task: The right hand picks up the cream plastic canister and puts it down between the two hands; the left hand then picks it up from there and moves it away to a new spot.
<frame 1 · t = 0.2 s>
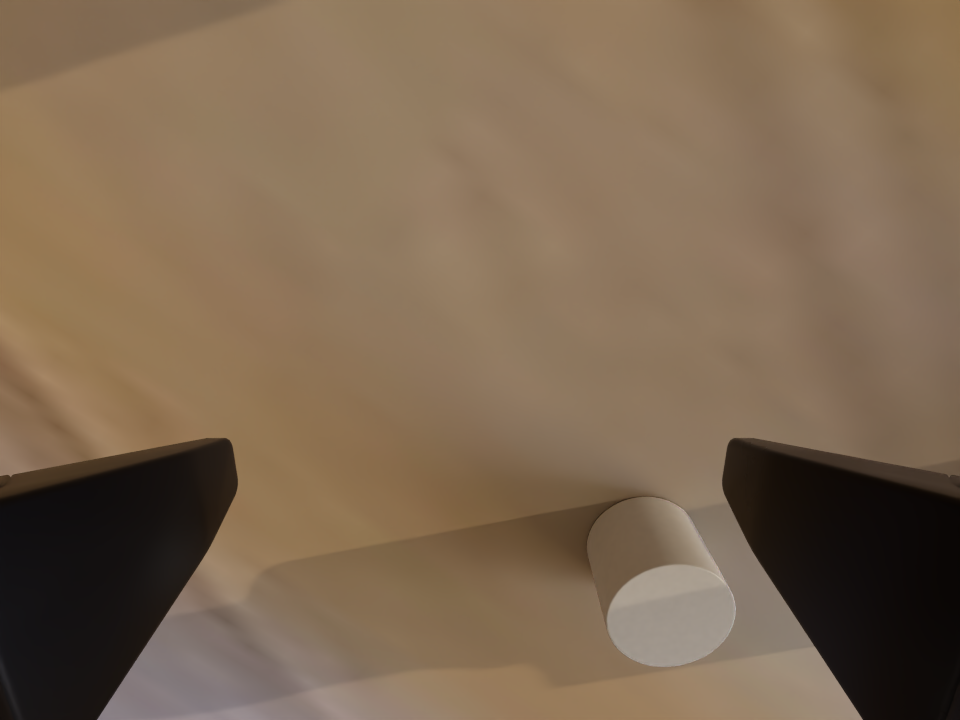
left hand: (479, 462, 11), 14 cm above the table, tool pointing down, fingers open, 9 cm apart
canister: (641, 543, 28), on the table
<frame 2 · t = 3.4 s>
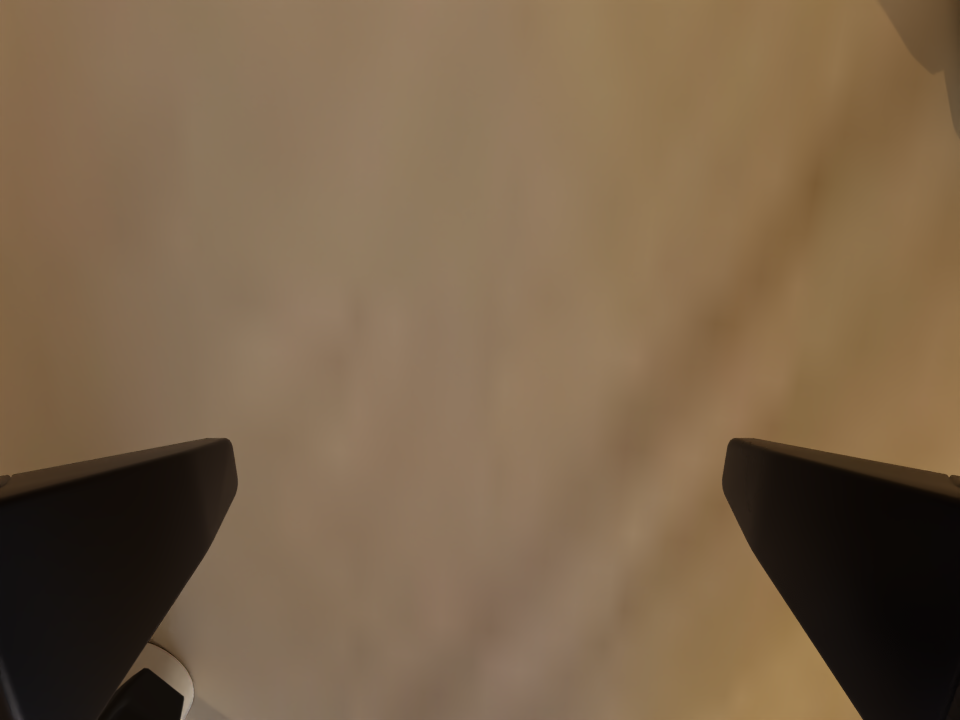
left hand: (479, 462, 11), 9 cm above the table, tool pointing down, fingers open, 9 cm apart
canister: (132, 684, 25), on the table, touching right hand
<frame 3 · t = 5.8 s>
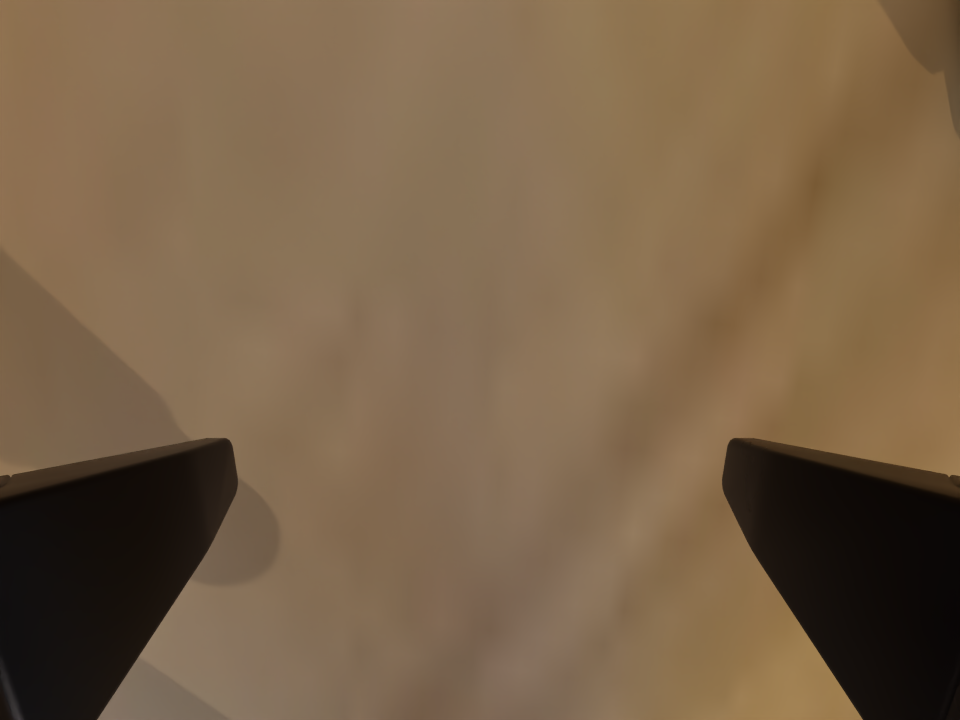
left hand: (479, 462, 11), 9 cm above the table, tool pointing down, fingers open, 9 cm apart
when the right hand's fingers open (3 cm above the table, at t = 8.6 s): canister stays where it is, on the table.
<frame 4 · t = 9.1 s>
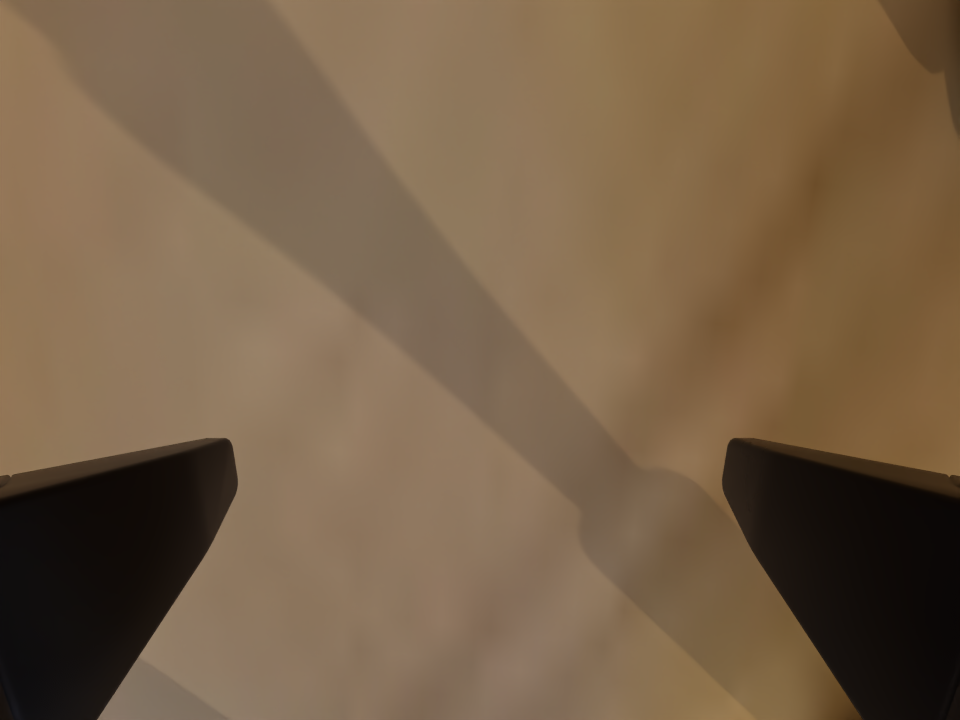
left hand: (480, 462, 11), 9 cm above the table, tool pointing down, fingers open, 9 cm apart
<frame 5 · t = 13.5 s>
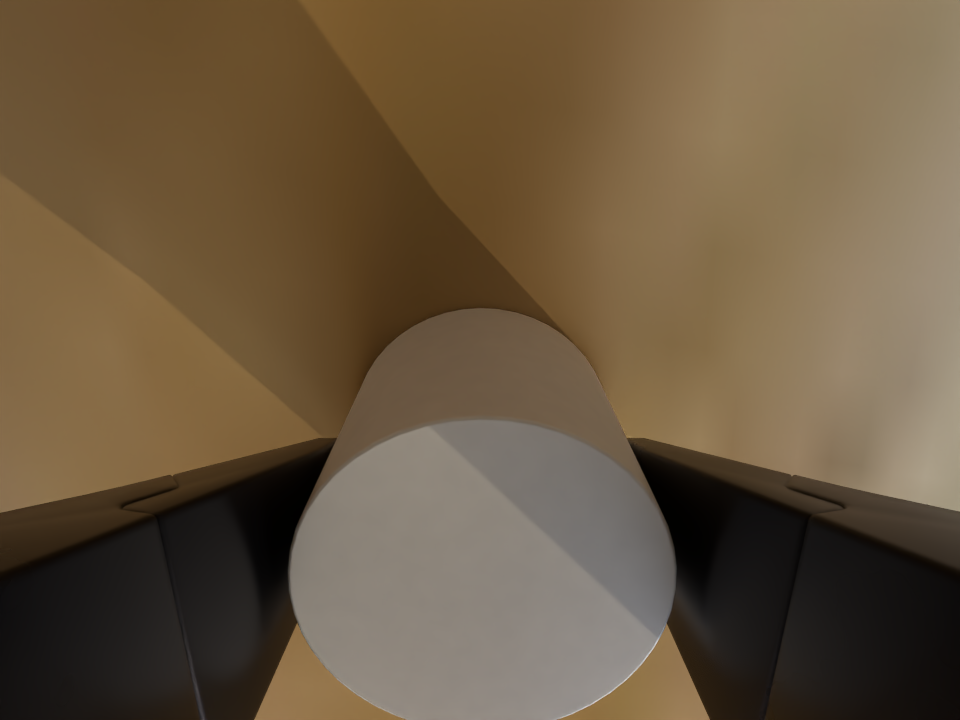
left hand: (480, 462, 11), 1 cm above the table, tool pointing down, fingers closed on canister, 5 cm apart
canister: (481, 428, 12), on the table, touching left hand
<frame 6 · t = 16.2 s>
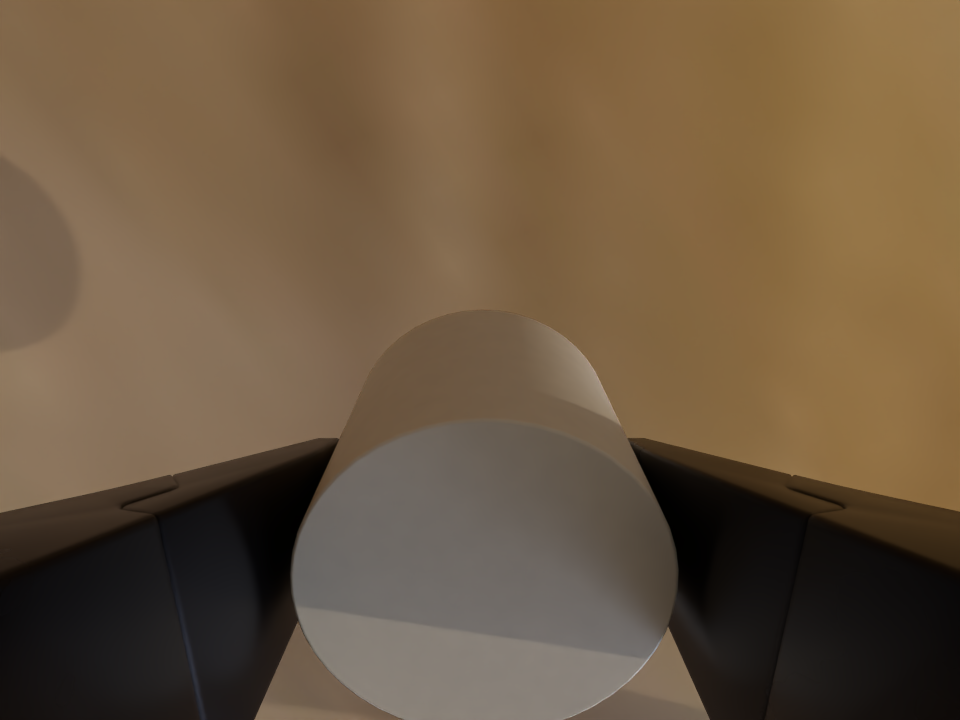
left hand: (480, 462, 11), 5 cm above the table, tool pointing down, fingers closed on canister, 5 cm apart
canister: (482, 430, 12), point 3 cm above the table, touching left hand
when the left hand's fingers open (2 cm above the table, at t = 18.7 s): canister stays where it is, on the table.
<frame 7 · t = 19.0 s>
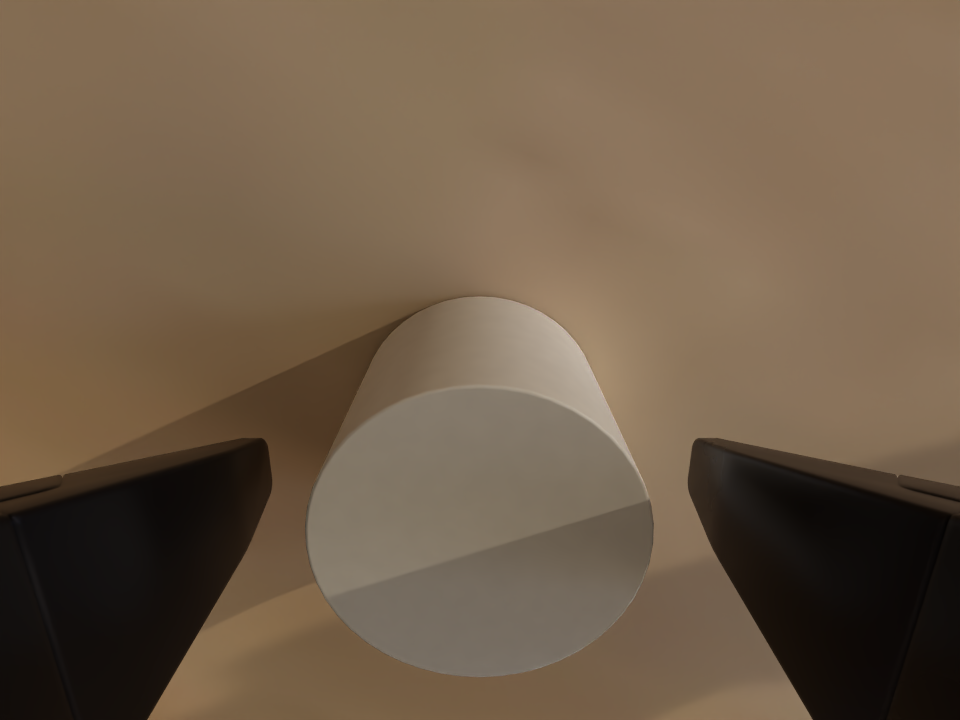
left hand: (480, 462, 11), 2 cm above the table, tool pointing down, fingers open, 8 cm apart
canister: (479, 409, 13), on the table
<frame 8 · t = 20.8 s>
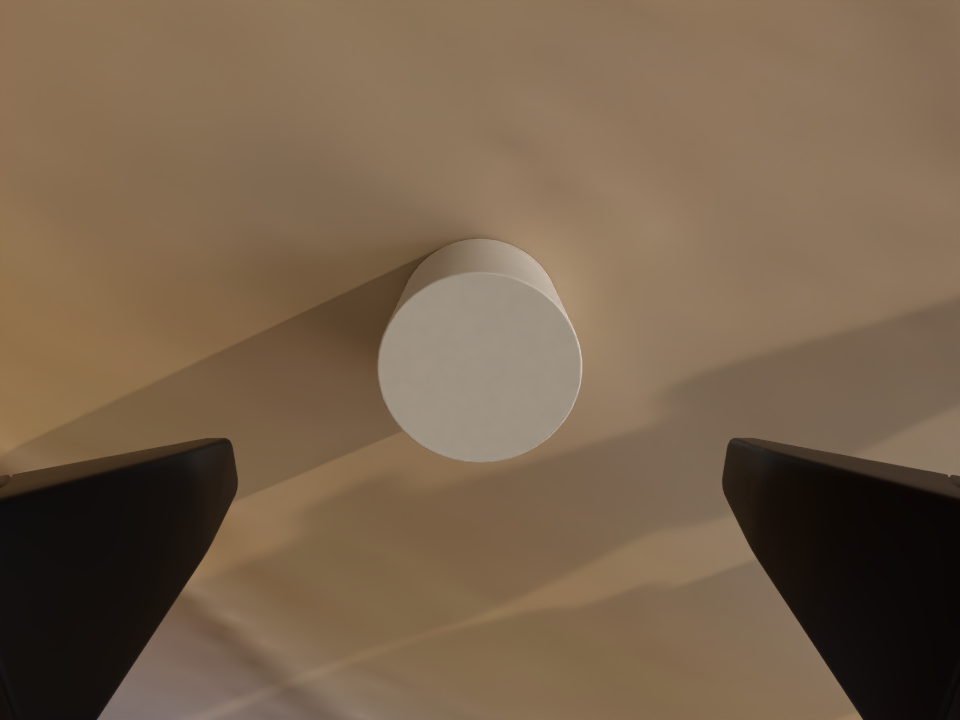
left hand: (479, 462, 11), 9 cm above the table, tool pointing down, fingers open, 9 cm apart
canister: (479, 318, 19), on the table
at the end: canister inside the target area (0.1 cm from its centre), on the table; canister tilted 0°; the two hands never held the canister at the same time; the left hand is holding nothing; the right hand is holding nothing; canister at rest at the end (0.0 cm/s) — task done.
